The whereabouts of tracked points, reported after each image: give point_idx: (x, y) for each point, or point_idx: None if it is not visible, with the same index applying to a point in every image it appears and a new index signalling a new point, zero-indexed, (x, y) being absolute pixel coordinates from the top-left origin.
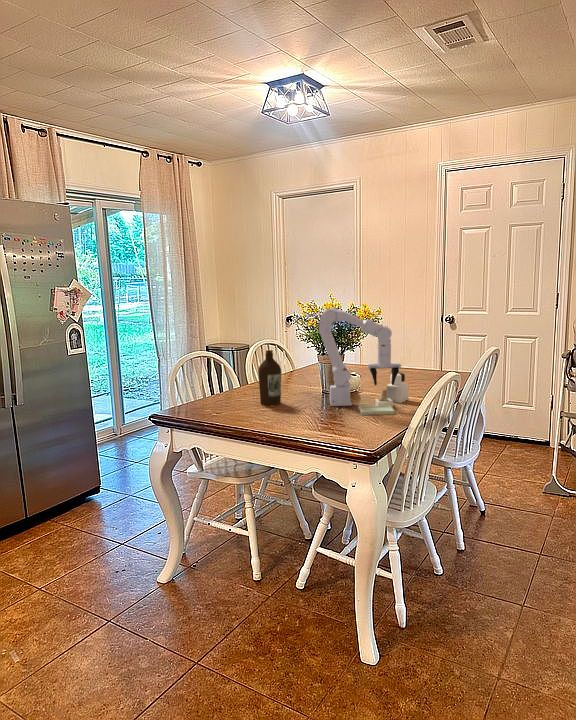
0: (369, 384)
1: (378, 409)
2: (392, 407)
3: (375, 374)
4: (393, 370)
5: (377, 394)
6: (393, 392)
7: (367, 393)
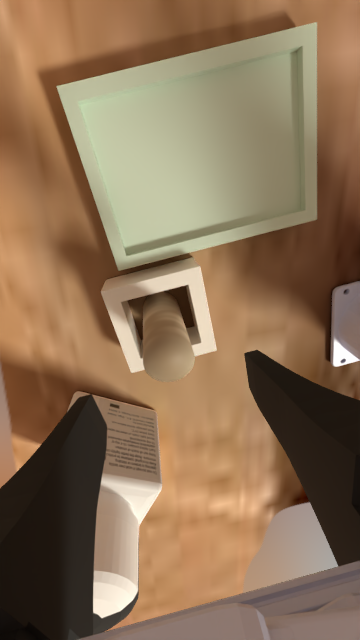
0: (231, 588)
1: (187, 174)
2: (107, 280)
3: (331, 414)
4: (7, 576)
5: (202, 496)
6: (116, 440)
7: (241, 499)
